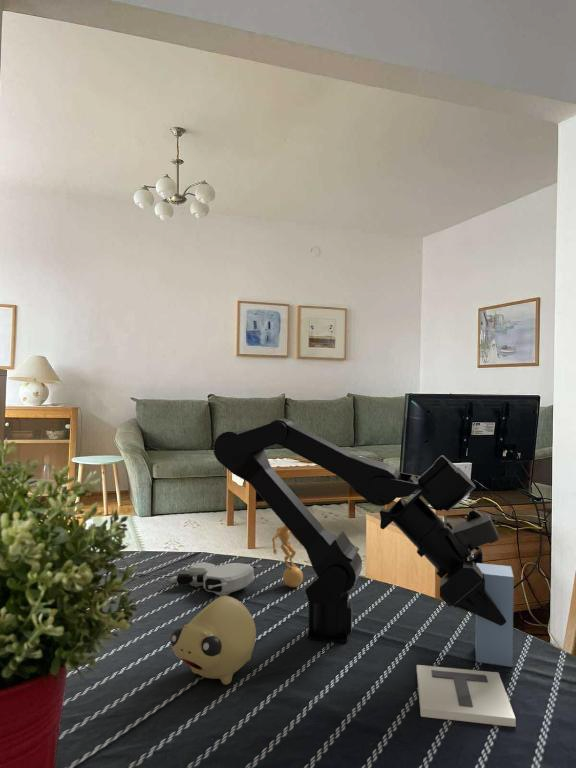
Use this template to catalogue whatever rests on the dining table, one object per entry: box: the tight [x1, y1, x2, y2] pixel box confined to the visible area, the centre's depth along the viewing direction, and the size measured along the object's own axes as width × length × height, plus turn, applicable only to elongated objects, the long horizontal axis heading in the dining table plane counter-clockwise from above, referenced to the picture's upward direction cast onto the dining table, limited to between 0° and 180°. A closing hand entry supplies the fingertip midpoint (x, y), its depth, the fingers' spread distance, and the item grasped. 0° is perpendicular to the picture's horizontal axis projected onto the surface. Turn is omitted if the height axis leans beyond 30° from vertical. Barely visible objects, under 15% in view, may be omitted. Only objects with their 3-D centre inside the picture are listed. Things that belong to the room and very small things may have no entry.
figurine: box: [271, 525, 304, 588], centre depth 115 cm, size 8×6×12 cm
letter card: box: [416, 664, 517, 728], centre depth 75 cm, size 11×11×1 cm
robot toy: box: [169, 561, 262, 597], centre depth 114 cm, size 12×4×15 cm
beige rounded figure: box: [169, 595, 257, 686], centre depth 79 cm, size 10×12×11 cm
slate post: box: [474, 562, 515, 668], centre depth 86 cm, size 5×5×13 cm
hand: (502, 611), depth 86 cm, fingers open, 9 cm apart
